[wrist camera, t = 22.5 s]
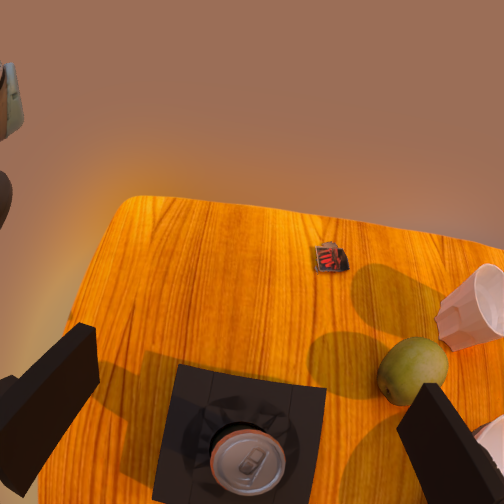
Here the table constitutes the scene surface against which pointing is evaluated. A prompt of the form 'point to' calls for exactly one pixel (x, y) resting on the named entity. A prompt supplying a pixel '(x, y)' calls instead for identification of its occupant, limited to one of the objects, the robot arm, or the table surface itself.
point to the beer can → (246, 460)
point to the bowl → (493, 440)
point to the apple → (411, 369)
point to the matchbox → (331, 258)
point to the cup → (473, 310)
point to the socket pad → (229, 411)
